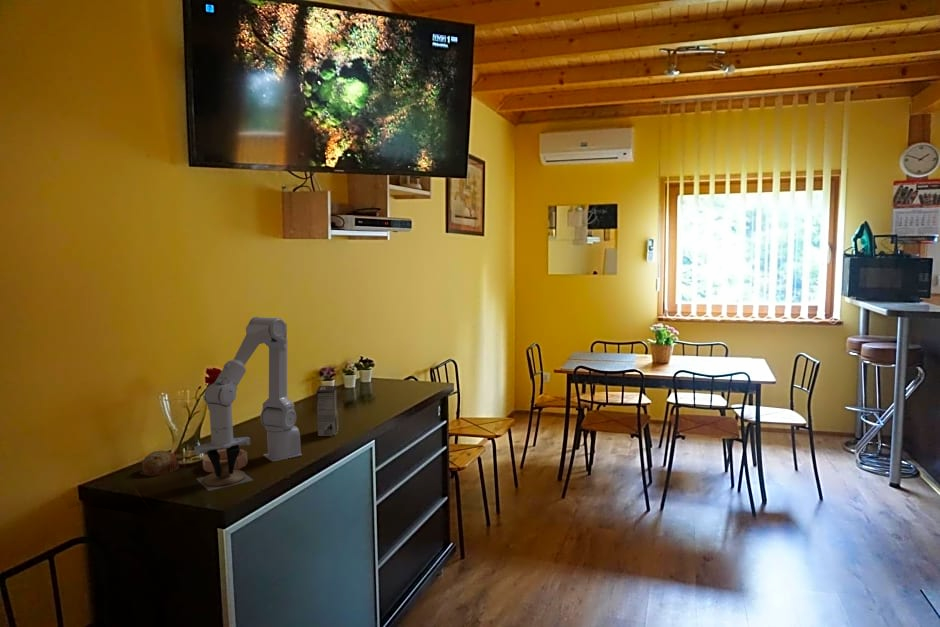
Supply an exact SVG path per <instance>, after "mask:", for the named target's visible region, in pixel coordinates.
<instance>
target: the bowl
mask: <svg viewBox="0 0 940 627" xmlns="http://www.w3.org/2000/svg"><path fill="white" fill-rule="evenodd" d="M217 451H218V454H220V463H224V462H228V459H227V452H226V449H222V450H217ZM247 464H248V451H246V450H244V449H242V448H240V452H239V454H238V456H237V459H236V461H235V465H234V469H233V470H237V469H240V470H241V469H242V468H245V467H246V466H247ZM202 470H204V471H205V472H207V473H214V472H215V470H214V467H213V465H212V462H211V460H210V459H209V457H208V455H207V454H204V456H203V457H202Z"/></svg>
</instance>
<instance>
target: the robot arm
mask: <svg viewBox="0 0 940 627" xmlns="http://www.w3.org/2000/svg"><path fill="white" fill-rule="evenodd" d="M287 328H288V325H287V323H286V322H285V321H284V319H282V318H281V317H259V316H255V317H252V318H251V319H249V321H248V324H247V325H246V327H245V333H246V334H245V336H244V338H243V340H242V342H241V344H240V346H239V348H238V350H237V352H236V354H235V355H234V358H233V359H232V360H228V361H226V362H225V363H224V364H223V368H222V369H221V371H220V373H219V374H218V376H217V378H216V380H215V381H214V383H211V384H210V385H208V386H207V387H206V389H205V392H204V395H203V397H202V398H203V401H204V402H205V403H206V405H207V410H209V425H210V440H211V441H210V442H207V443H204V444H200V445H196V446H194V447H193V448H194V449H193V452H194V455H195V456H201V455H202V454H205V453H206V454H207V455H208V457H209V459H210V460H211V462H212V465H213V467H214V470H215V474H216V476H217V477H220V454H218V450H223V449H226V452H227V459H228V463H229V470H230V474H233V469H234V465H235V461H236V459H237V456H238V454H239V452H240V449H241V448H240V447H241V446H249V445H251V438H250V437H248V436H243V437H234V426H233V411H232V410H233V409H232V408H233V407H232V404H233V402H234V401H235V400H236V398H237V390H238V385H239V384H240V382H241V380H242V379H243V377H244V376H245V374H246V371H247V370H246V364H247V363H248V361H249V360H250V358H251V357H252V356H253V354H254V352H255V351H256V350H257V348H258V347H259V345H262V344H265V346H267V347H268V398H267V399H266V400H265V401H264V402H263V403H262V410H261V413H260V417H259V418H260V422H261V424H262V426H264V430H266V438H267V440H266V441H267V453H264V454H263V457H265V458H266V459H268V460H269V461H271V462H277V461H278V462H279V461H282V460H286V459H287V460H289V459H293V458H298V457H302V456H303V454H302V451H301V448H302V446H301V434H300V431H299V430H300V429H299V428H298V427H297V425H295V424H296V421H297V413H296V410H295V403H294V402H293V401H292V400H290V398H288V336H287V335H288V329H287ZM206 454H205V455H206ZM288 458H289V459H288Z"/></svg>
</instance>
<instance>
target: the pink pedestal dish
mask: <svg viewBox="0 0 940 627" xmlns="http://www.w3.org/2000/svg"><path fill="white" fill-rule="evenodd" d="M240 470H241V469H240ZM240 470H233V474H230V470H229V463H228V462H224V463H220V477H217V476H216V474H215V472H214V473H213V472H210V473H209V474H206V475H205V476H203V477H204V478H203V483H204V484H205V485H207V486H212V487H220V486H228V485H232V484H236V483H238V482H241V481H242V480H244V479H245V474H246V472H245V471H243V470H241V471H240ZM236 485H237V484H236ZM232 486H233V485H232ZM228 487H229V486H228Z"/></svg>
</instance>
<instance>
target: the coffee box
mask: <svg viewBox="0 0 940 627" xmlns="http://www.w3.org/2000/svg"><path fill="white" fill-rule="evenodd" d="M337 387H338V386H337V385H319V386H318V387H317V390H316V411H317V412H316V414H317V415H316V416H317V418H316V419H317V436H327V435H336V434H337V435H338V432H337V431H339V429H338V428H339V411H338V410H339V408H338V407H339V406H338V389H337ZM337 435H336V436H337Z"/></svg>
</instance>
